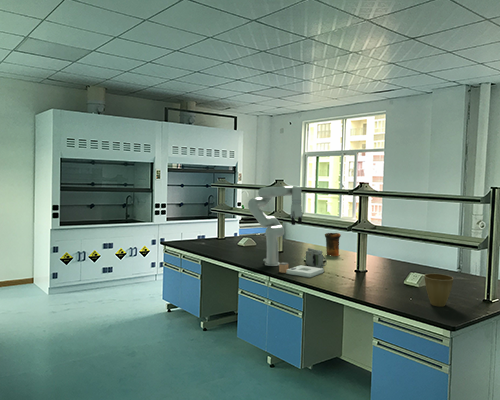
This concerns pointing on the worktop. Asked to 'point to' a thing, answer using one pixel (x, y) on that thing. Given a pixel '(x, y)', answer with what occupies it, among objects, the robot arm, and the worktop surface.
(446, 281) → the plant pot
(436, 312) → the worktop surface
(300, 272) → the socket plate
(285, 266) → the plug
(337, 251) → the vessel
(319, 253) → the geiger counter
